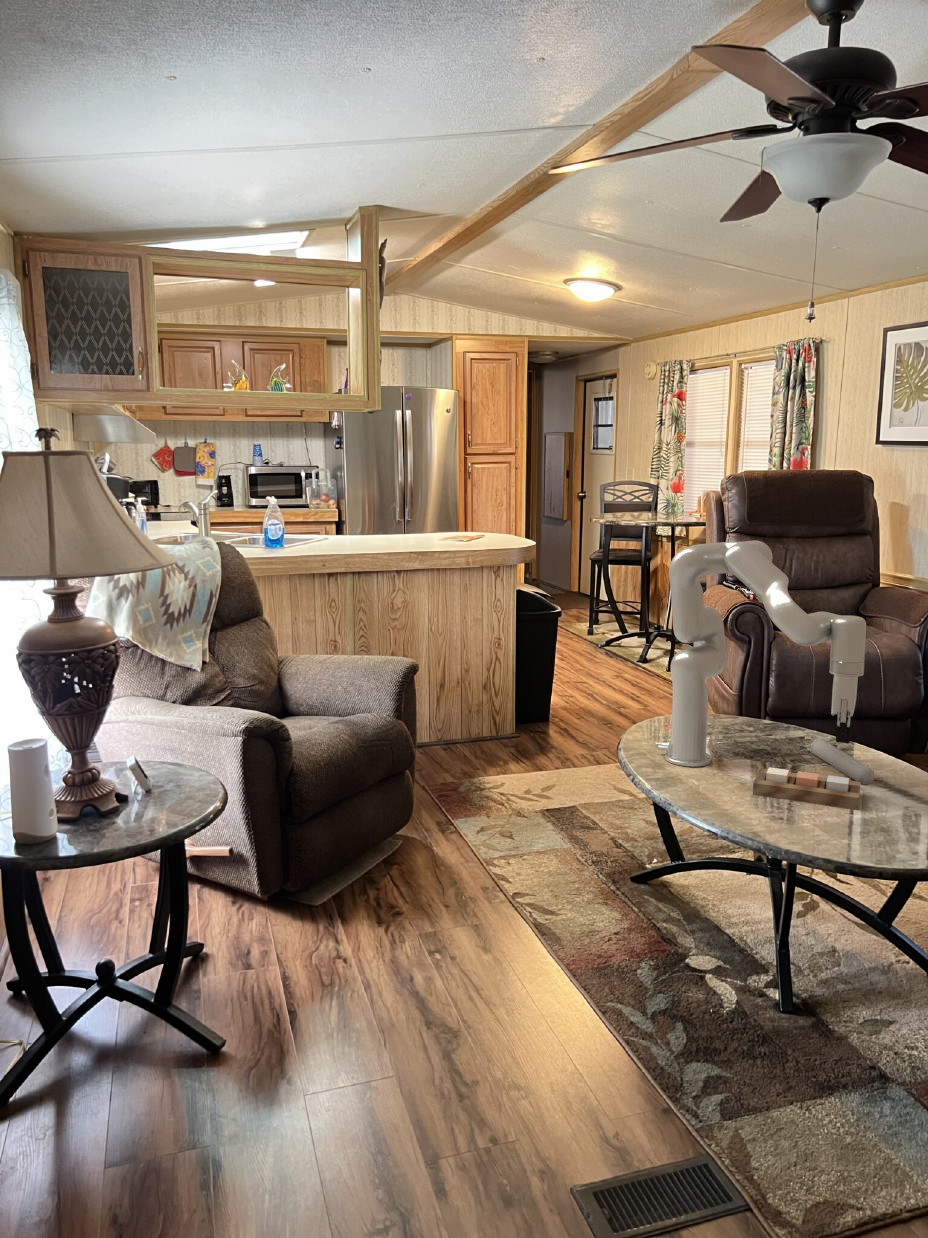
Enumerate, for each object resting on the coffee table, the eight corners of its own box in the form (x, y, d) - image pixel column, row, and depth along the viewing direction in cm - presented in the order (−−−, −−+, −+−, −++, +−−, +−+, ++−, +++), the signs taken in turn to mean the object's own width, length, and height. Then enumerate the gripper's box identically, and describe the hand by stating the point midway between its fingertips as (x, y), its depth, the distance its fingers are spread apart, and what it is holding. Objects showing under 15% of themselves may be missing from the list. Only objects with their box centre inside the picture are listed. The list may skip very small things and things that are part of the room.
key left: (765, 784, 223) (766, 773, 223) (768, 778, 228) (768, 767, 227) (786, 787, 221) (786, 775, 221) (788, 781, 226) (788, 770, 225)
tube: (882, 771, 227) (830, 741, 252) (863, 765, 226) (814, 736, 251) (874, 790, 228) (823, 758, 252) (856, 785, 227) (807, 753, 251)
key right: (826, 793, 217) (826, 781, 217) (827, 786, 222) (828, 775, 221) (847, 796, 215) (848, 784, 215) (848, 789, 220) (849, 778, 219)
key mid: (795, 788, 220) (796, 777, 220) (797, 782, 225) (798, 771, 224) (816, 791, 218) (817, 780, 218) (817, 785, 223) (818, 774, 222)
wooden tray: (752, 794, 221) (753, 783, 221) (759, 779, 232) (759, 768, 232) (858, 810, 211) (858, 798, 211) (859, 793, 222) (860, 782, 222)
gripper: (831, 660, 221) (828, 732, 224) (827, 672, 208) (824, 748, 211) (864, 662, 218) (860, 735, 221) (862, 675, 205) (858, 752, 208)
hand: (842, 741), depth 216 cm, fingers closed
